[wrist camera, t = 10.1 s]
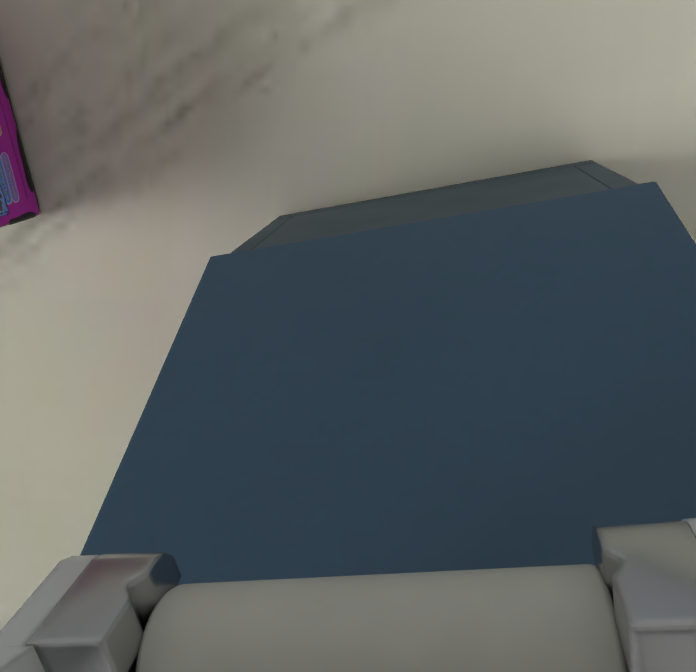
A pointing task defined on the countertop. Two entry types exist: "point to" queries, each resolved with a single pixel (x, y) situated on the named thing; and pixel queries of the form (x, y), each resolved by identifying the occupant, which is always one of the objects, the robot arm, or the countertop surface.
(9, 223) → the candy bar box
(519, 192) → the dark blue open box
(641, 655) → the robot arm
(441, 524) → the lid
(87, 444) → the countertop surface
